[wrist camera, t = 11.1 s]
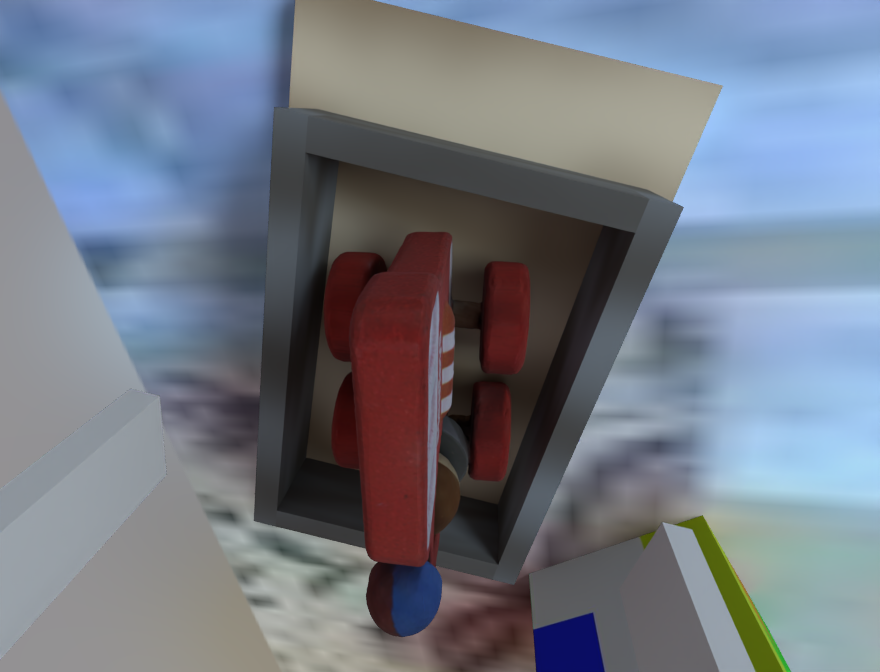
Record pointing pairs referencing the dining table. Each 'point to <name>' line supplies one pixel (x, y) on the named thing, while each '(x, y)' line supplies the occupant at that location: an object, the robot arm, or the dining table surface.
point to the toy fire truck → (417, 406)
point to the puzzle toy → (603, 617)
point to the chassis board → (461, 239)
